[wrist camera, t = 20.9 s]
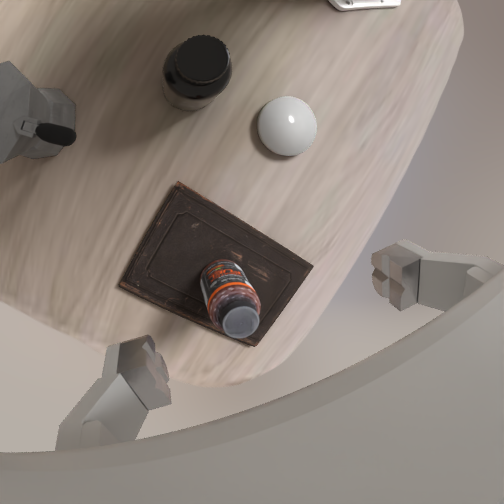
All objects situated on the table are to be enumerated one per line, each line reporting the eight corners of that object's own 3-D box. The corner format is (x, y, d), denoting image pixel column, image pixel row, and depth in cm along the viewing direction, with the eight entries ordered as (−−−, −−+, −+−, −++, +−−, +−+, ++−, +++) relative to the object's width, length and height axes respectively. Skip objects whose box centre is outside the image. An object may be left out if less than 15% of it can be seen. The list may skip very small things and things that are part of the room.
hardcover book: (177, 179, 37) (178, 181, 35) (307, 260, 47) (314, 266, 45) (119, 281, 39) (117, 288, 37) (250, 340, 49) (254, 348, 47)
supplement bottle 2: (234, 250, 40) (261, 288, 30) (247, 287, 42) (276, 332, 32) (192, 267, 39) (204, 312, 29) (208, 304, 42) (225, 354, 31)
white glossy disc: (305, 94, 37) (309, 92, 36) (317, 149, 40) (321, 149, 39) (250, 102, 35) (253, 101, 34) (264, 161, 38) (267, 161, 37)
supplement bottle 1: (228, 80, 33) (257, 53, 23) (196, 121, 34) (212, 109, 23) (184, 51, 30) (196, 13, 20) (150, 93, 31) (147, 68, 20)
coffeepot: (-3, 147, 27) (-88, 158, 10) (21, 79, 25) (-54, 47, 8) (91, 178, 33) (37, 205, 16) (118, 106, 31) (84, 71, 14)
